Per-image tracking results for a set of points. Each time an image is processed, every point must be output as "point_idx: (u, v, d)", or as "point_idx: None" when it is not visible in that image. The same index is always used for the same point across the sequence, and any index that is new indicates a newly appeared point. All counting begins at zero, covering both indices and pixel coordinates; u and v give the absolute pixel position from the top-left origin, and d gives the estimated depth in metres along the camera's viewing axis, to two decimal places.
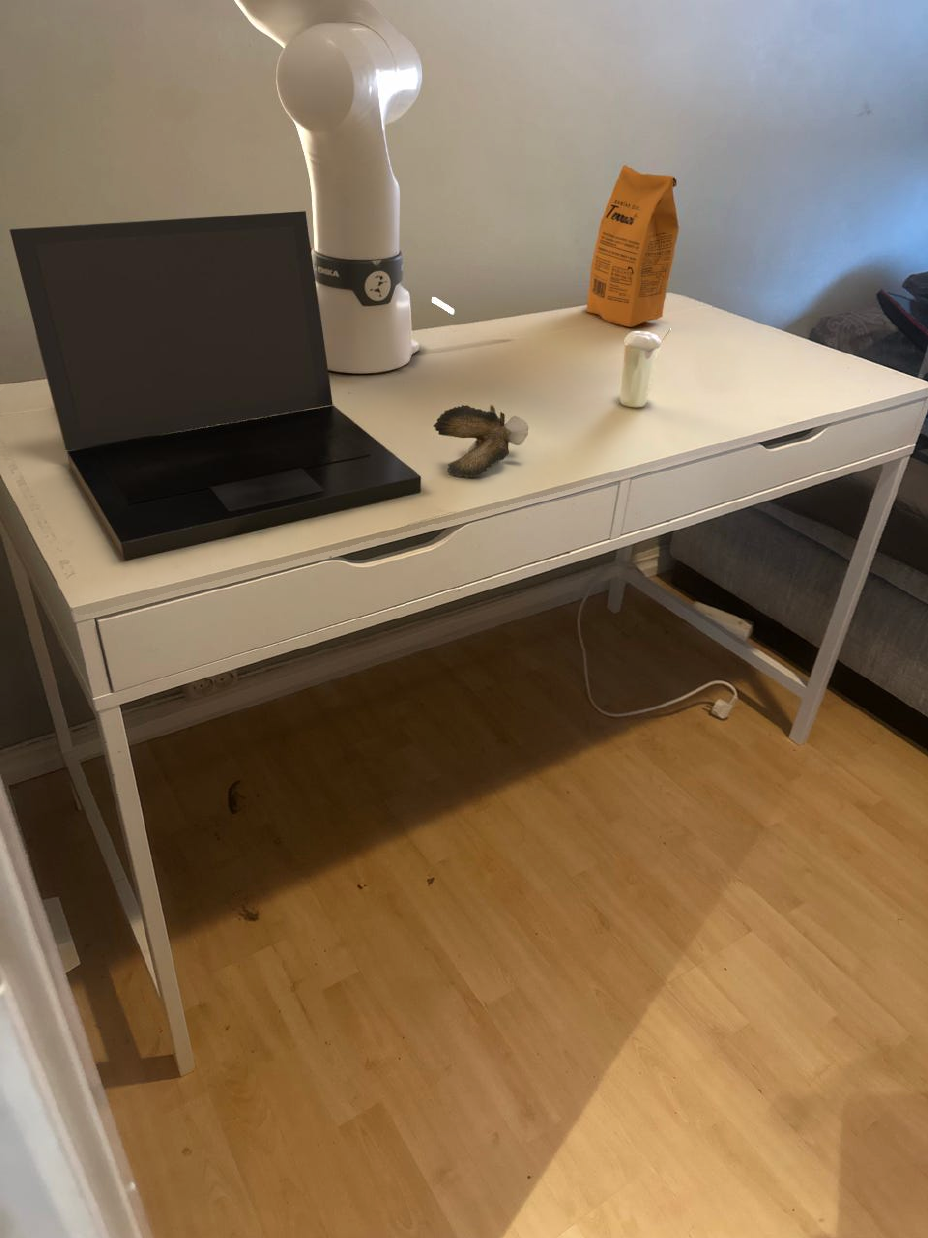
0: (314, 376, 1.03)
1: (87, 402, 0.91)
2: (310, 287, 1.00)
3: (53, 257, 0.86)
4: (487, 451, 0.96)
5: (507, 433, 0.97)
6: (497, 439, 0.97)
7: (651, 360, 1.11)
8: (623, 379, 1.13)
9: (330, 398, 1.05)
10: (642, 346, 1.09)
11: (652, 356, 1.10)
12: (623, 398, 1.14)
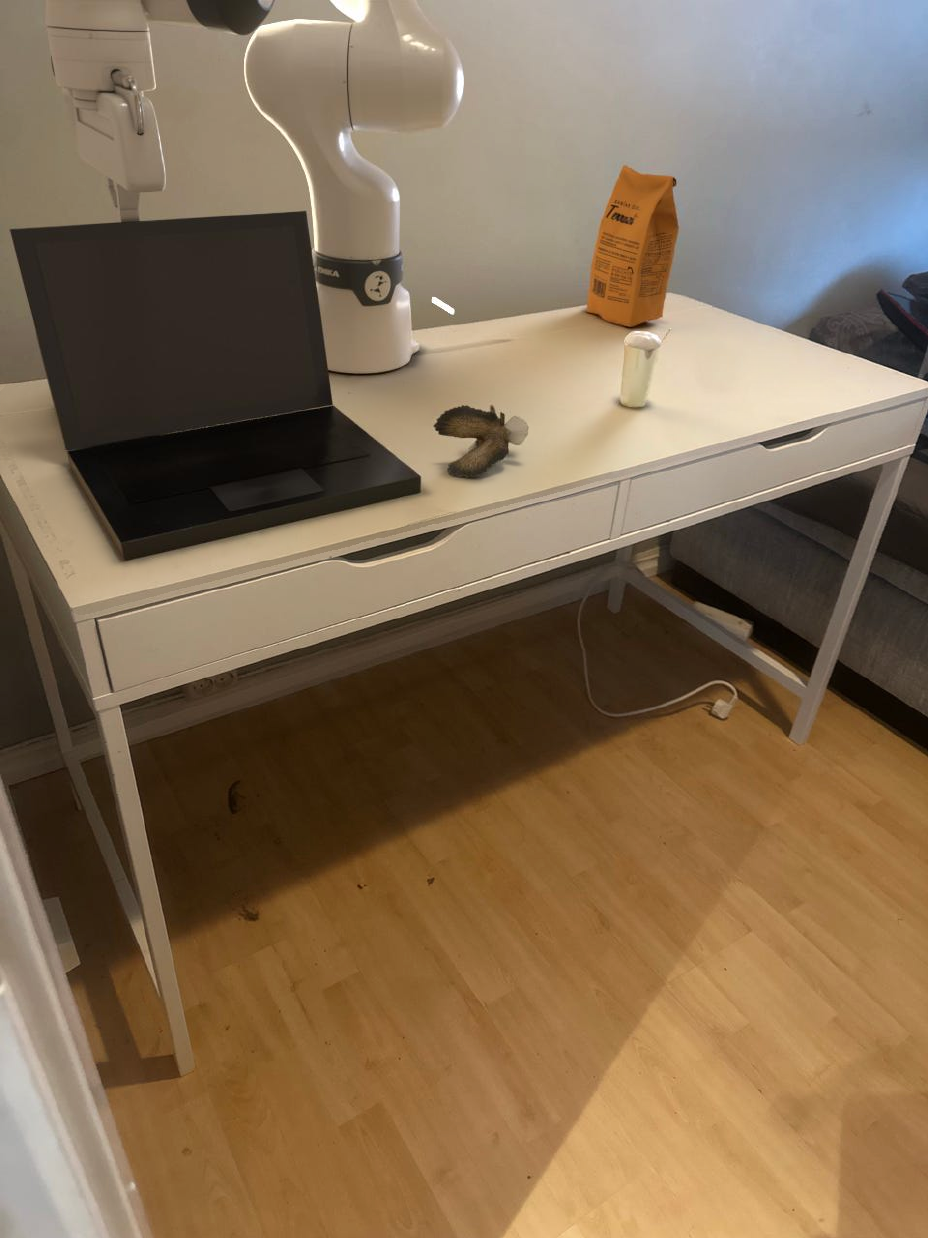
0: (314, 376, 1.03)
1: (87, 402, 0.91)
2: (310, 287, 1.00)
3: (53, 257, 0.86)
4: (487, 451, 0.96)
5: (507, 433, 0.97)
6: (497, 439, 0.97)
7: (651, 360, 1.11)
8: (623, 379, 1.13)
9: (330, 398, 1.05)
10: (642, 346, 1.09)
11: (652, 356, 1.10)
12: (623, 398, 1.14)
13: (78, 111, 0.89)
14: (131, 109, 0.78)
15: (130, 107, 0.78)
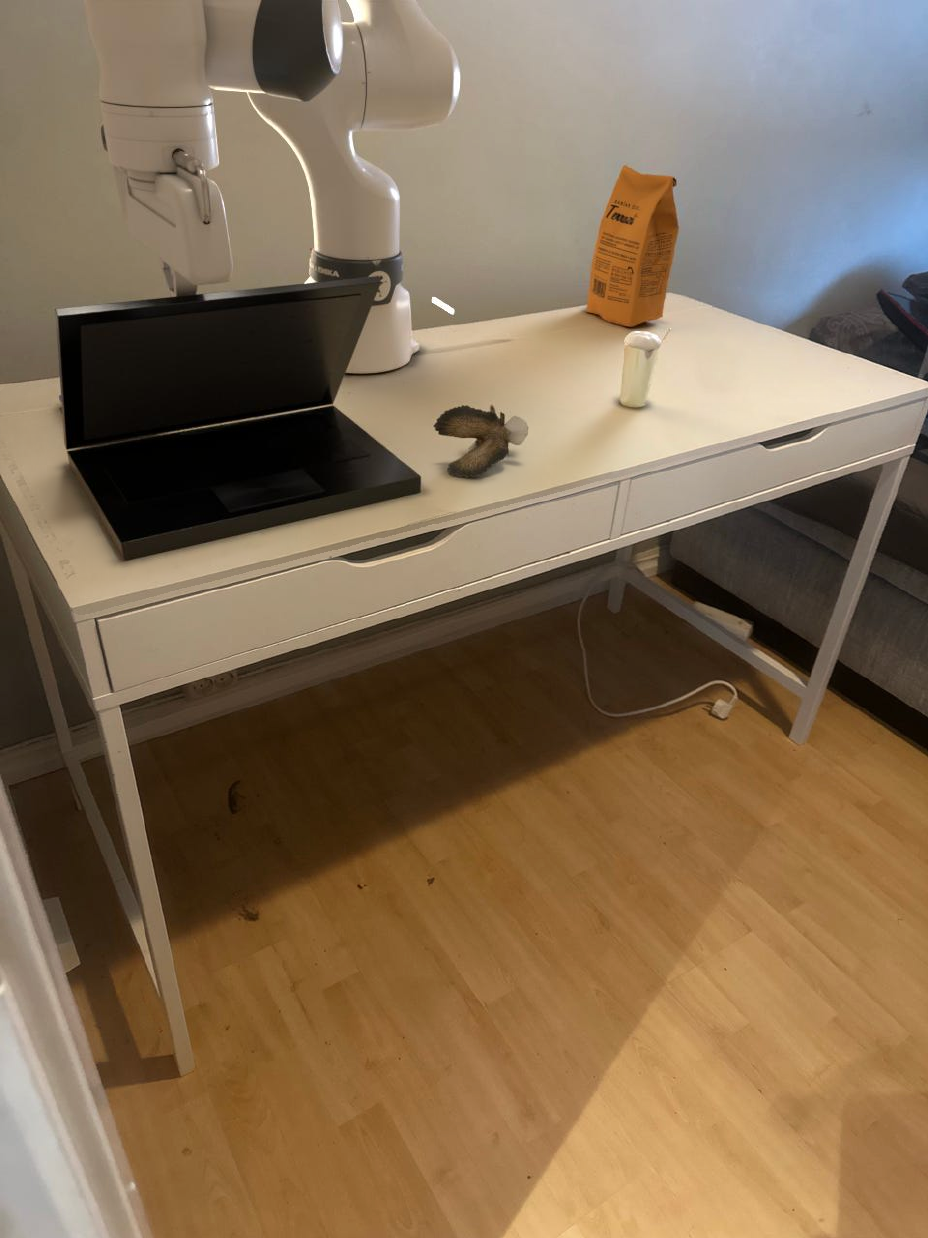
0: (325, 388, 1.01)
1: (97, 421, 0.89)
2: (354, 334, 0.94)
3: (98, 333, 0.77)
4: (487, 451, 0.96)
5: (507, 433, 0.97)
6: (497, 439, 0.97)
7: (651, 360, 1.11)
8: (623, 379, 1.13)
9: (332, 400, 1.04)
10: (642, 346, 1.09)
11: (652, 356, 1.10)
12: (623, 398, 1.14)
13: (129, 185, 0.81)
14: (197, 196, 0.69)
15: (196, 194, 0.69)
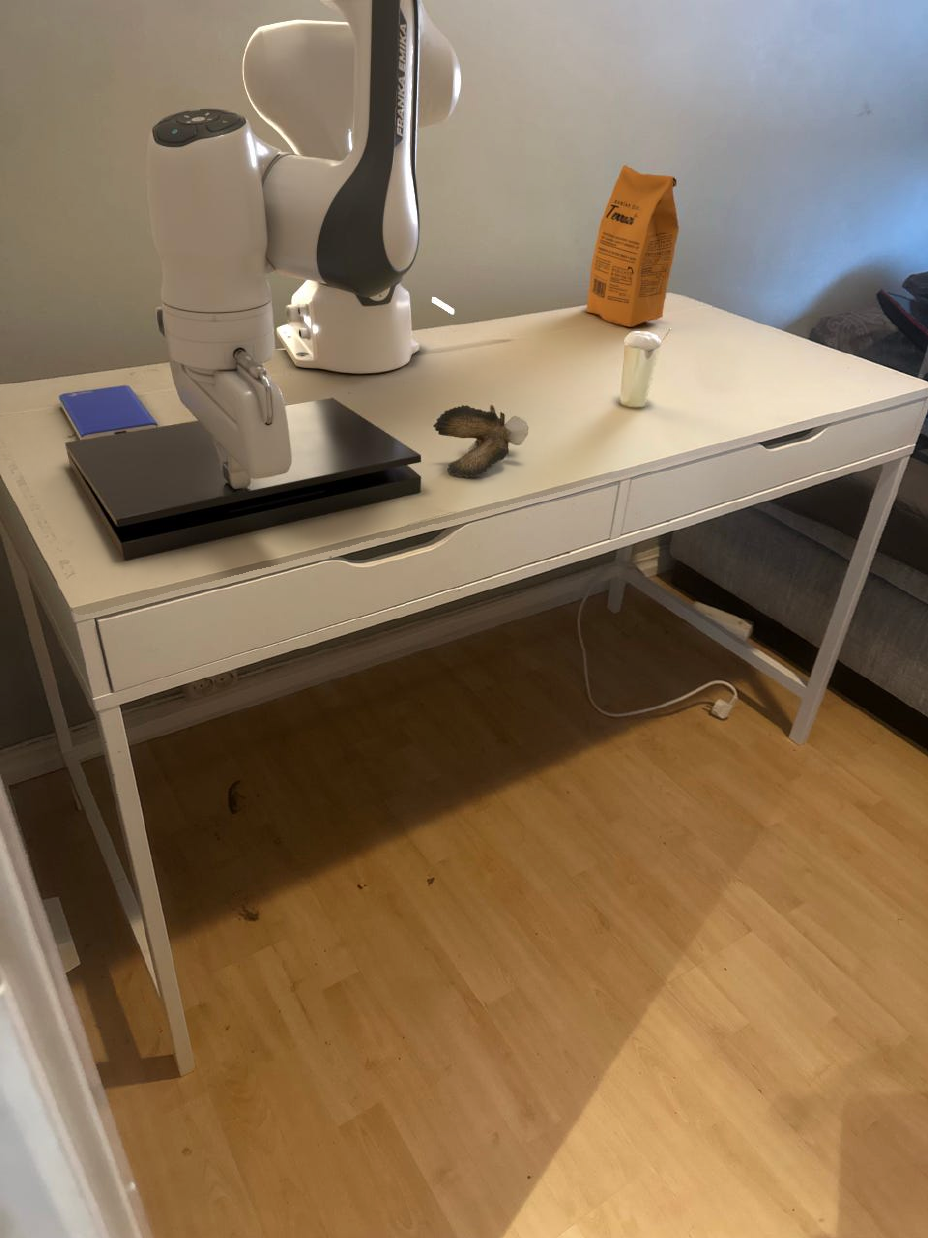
0: None
1: None
2: None
3: None
4: (487, 451, 0.96)
5: (507, 433, 0.97)
6: (497, 439, 0.97)
7: (651, 360, 1.11)
8: (623, 379, 1.13)
9: None
10: (642, 346, 1.09)
11: (652, 356, 1.10)
12: (623, 398, 1.14)
13: None
14: (260, 401, 0.70)
15: (259, 398, 0.70)
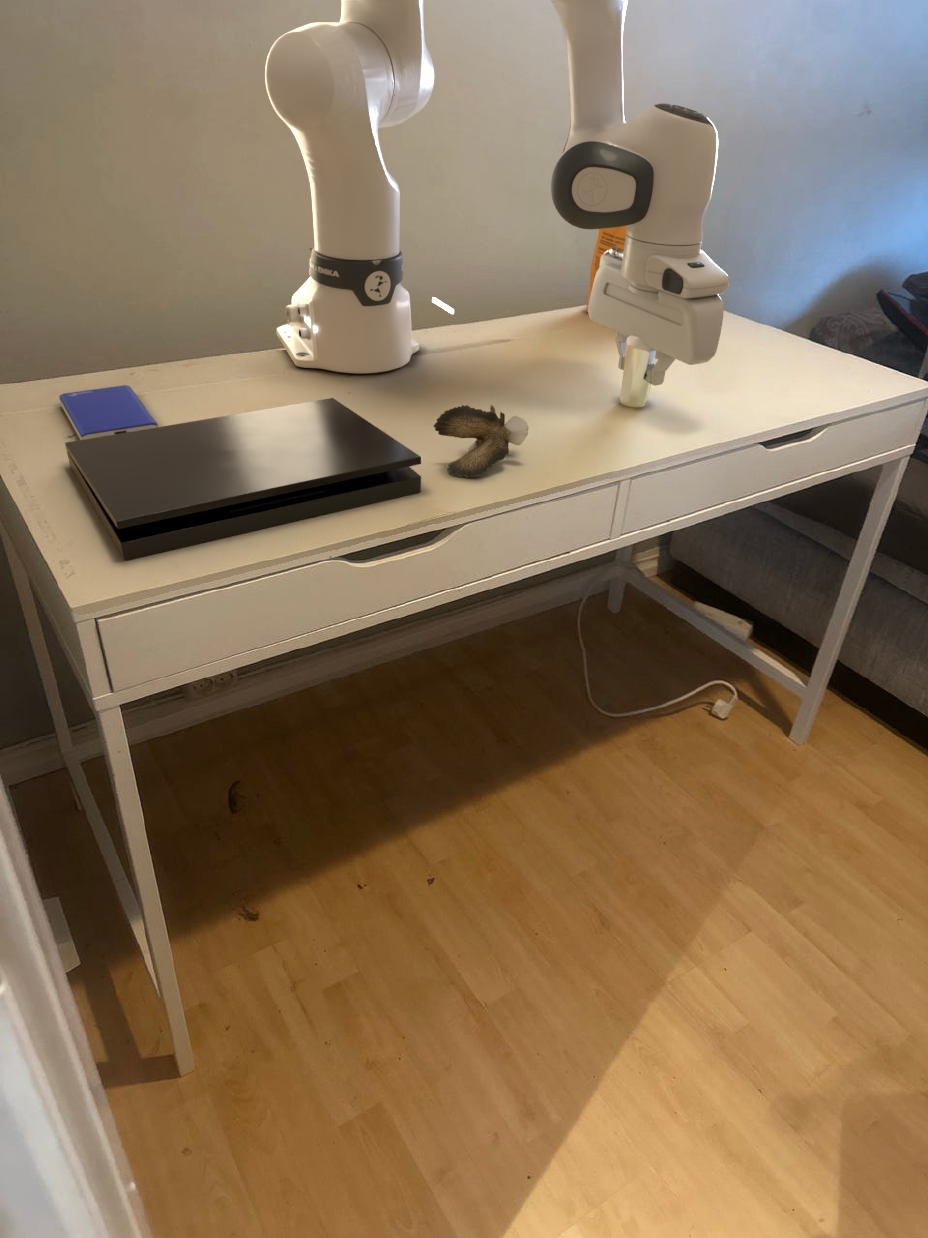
0: None
1: None
2: None
3: None
4: (487, 451, 0.96)
5: (507, 433, 0.97)
6: (497, 439, 0.97)
7: (652, 361, 1.10)
8: (624, 379, 1.13)
9: None
10: (644, 347, 1.09)
11: (654, 357, 1.10)
12: (623, 398, 1.14)
13: None
14: None
15: None
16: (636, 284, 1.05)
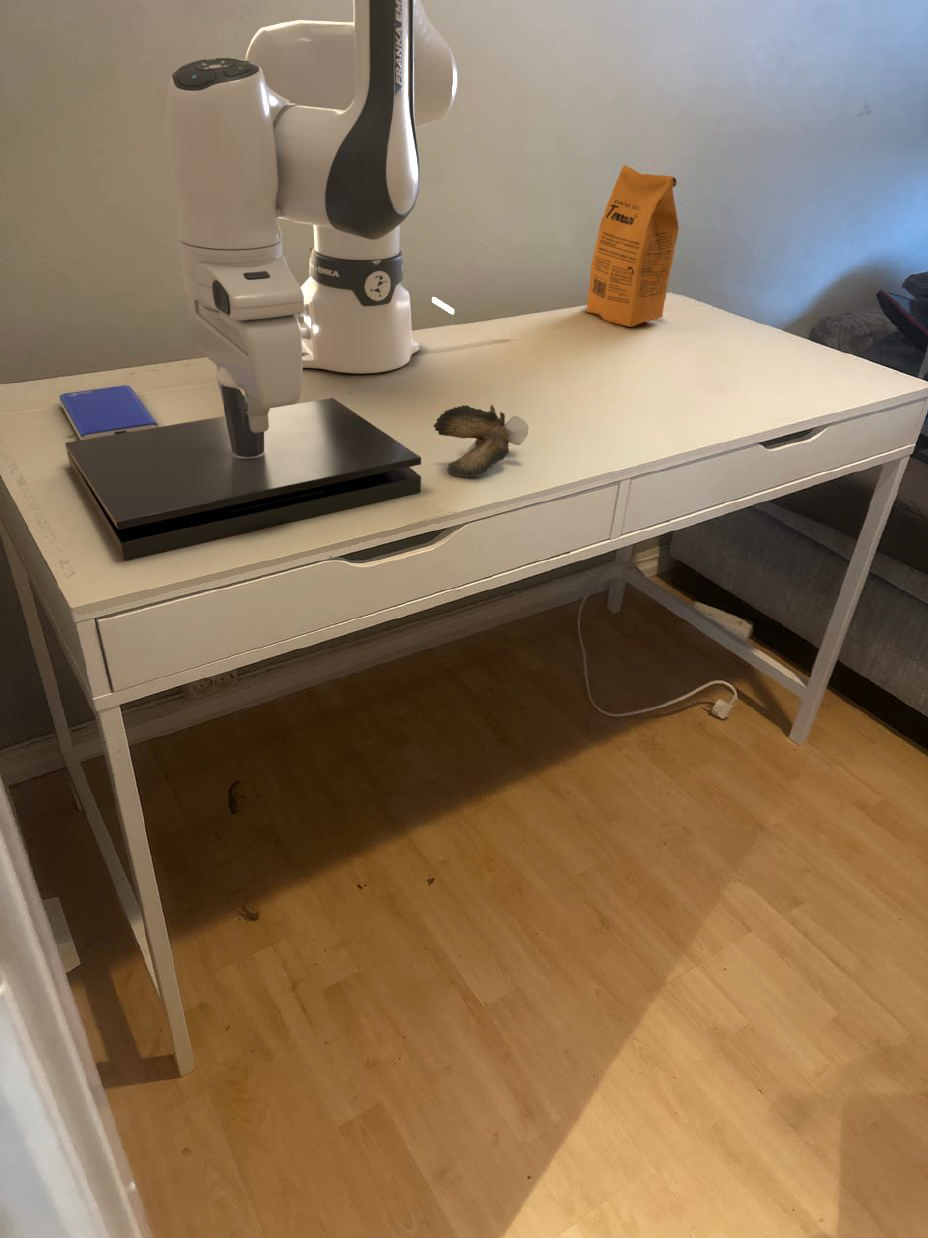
0: None
1: None
2: None
3: None
4: (487, 451, 0.96)
5: (507, 433, 0.97)
6: (497, 439, 0.97)
7: None
8: None
9: None
10: (231, 384, 0.83)
11: None
12: (231, 445, 0.89)
13: None
14: None
15: None
16: (202, 301, 0.80)
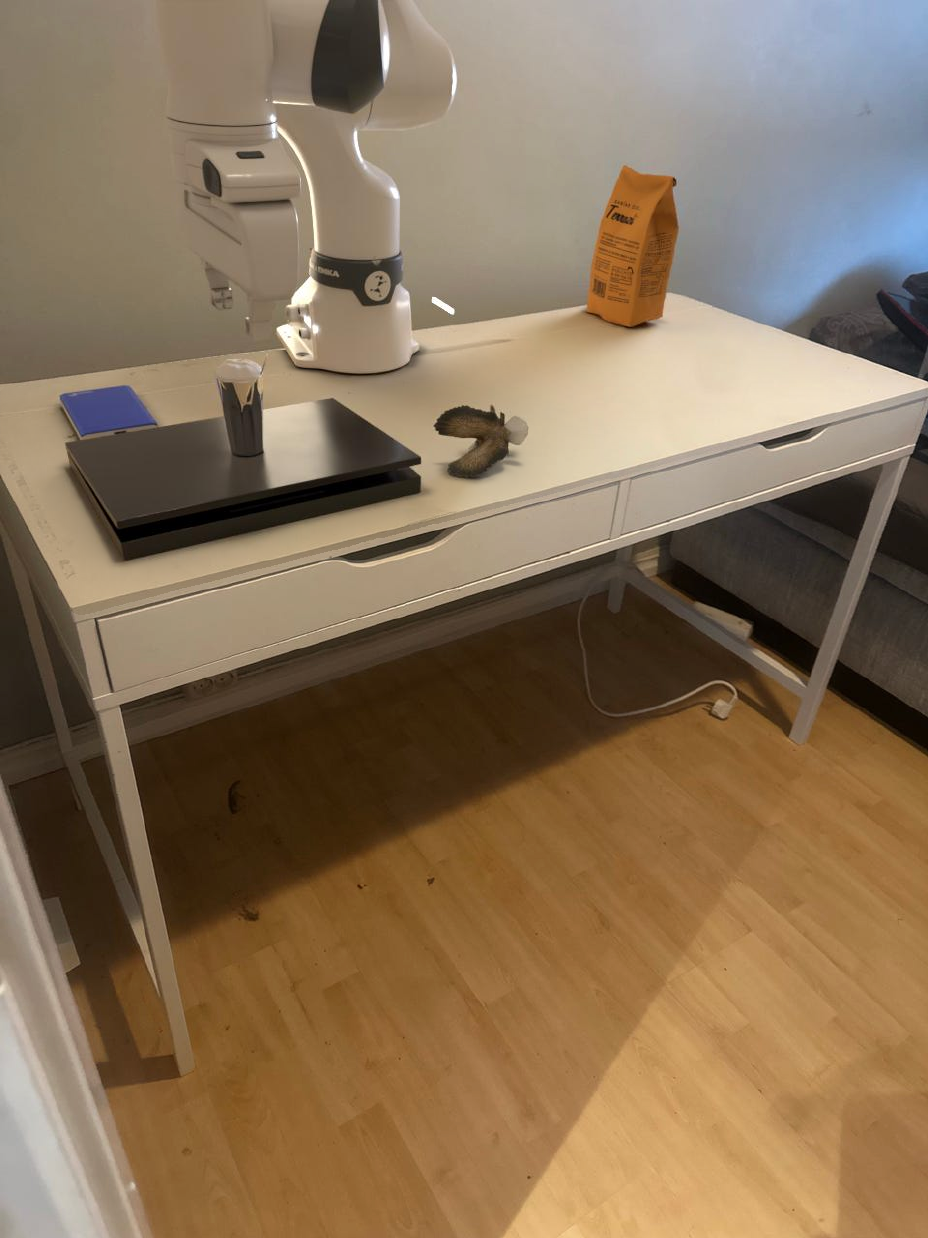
0: None
1: None
2: None
3: None
4: (487, 451, 0.96)
5: (507, 433, 0.97)
6: (497, 439, 0.97)
7: (247, 395, 0.85)
8: None
9: None
10: (229, 378, 0.84)
11: (248, 390, 0.85)
12: (230, 444, 0.89)
13: None
14: None
15: None
16: (191, 187, 0.74)
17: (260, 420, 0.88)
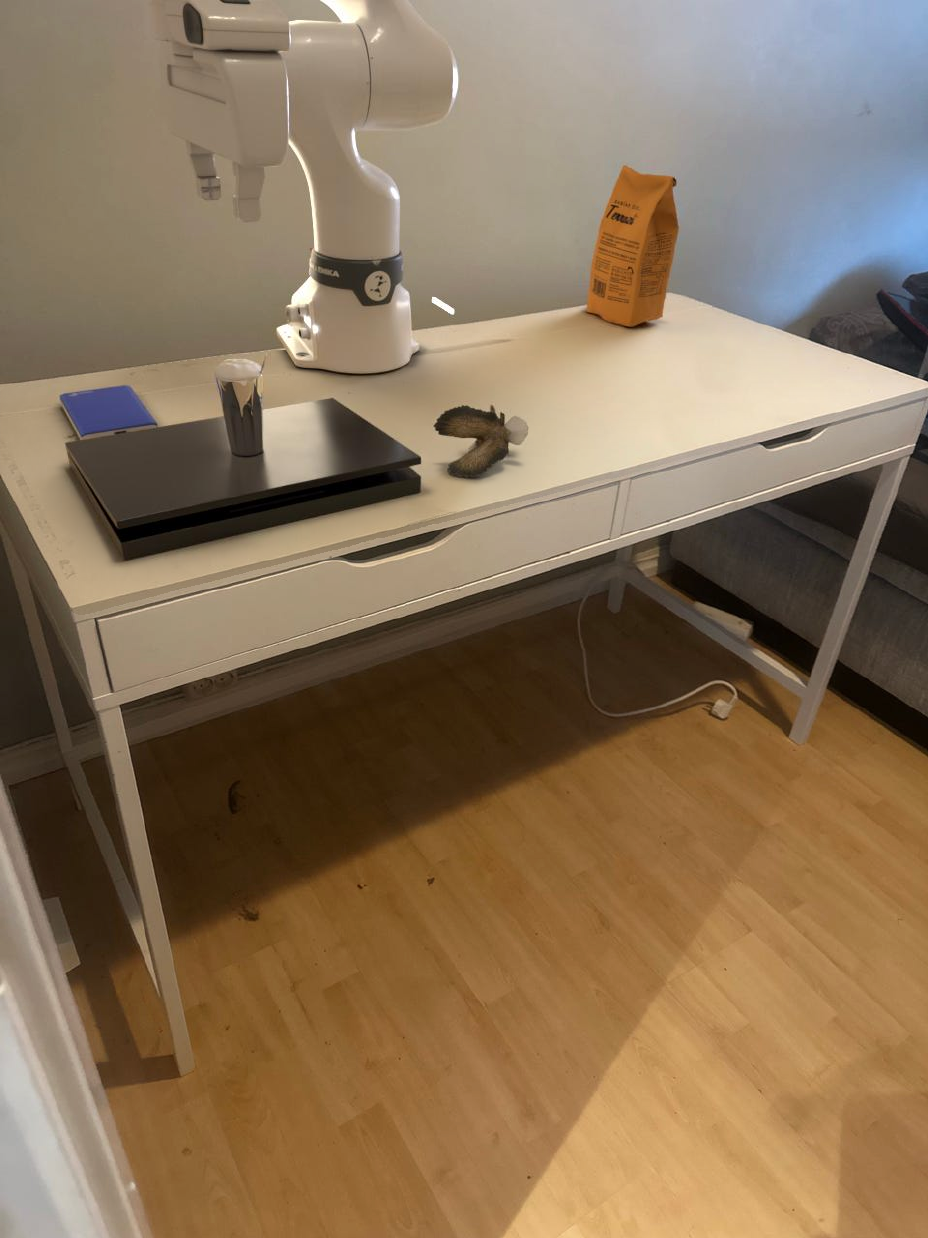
0: None
1: None
2: None
3: None
4: (487, 451, 0.96)
5: (507, 433, 0.97)
6: (497, 439, 0.97)
7: (247, 394, 0.85)
8: None
9: None
10: (228, 377, 0.84)
11: (247, 390, 0.85)
12: (230, 445, 0.89)
13: None
14: None
15: None
16: (173, 48, 0.69)
17: (260, 420, 0.88)
